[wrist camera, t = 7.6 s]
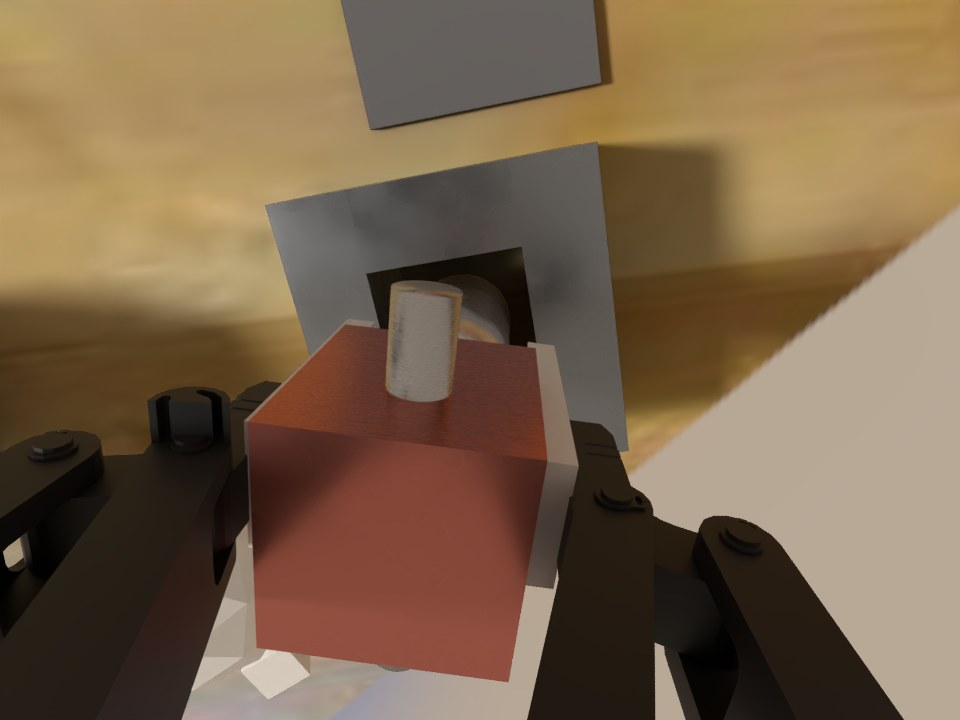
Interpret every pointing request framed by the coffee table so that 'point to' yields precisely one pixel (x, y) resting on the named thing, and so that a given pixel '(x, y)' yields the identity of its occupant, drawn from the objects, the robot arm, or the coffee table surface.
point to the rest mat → (467, 53)
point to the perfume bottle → (246, 637)
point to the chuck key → (402, 488)
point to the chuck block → (464, 232)
